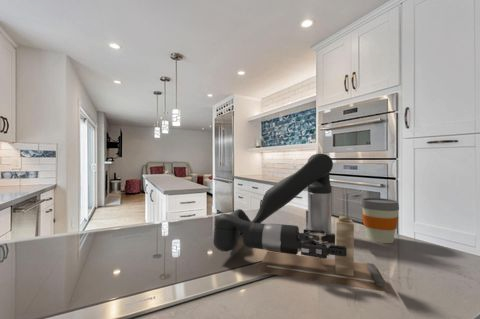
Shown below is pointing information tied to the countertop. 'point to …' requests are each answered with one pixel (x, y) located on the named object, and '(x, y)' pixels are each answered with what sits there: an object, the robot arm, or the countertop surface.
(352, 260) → the wooden pepper mill
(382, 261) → the countertop surface
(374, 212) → the reusable coffee cup
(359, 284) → the walnut board
